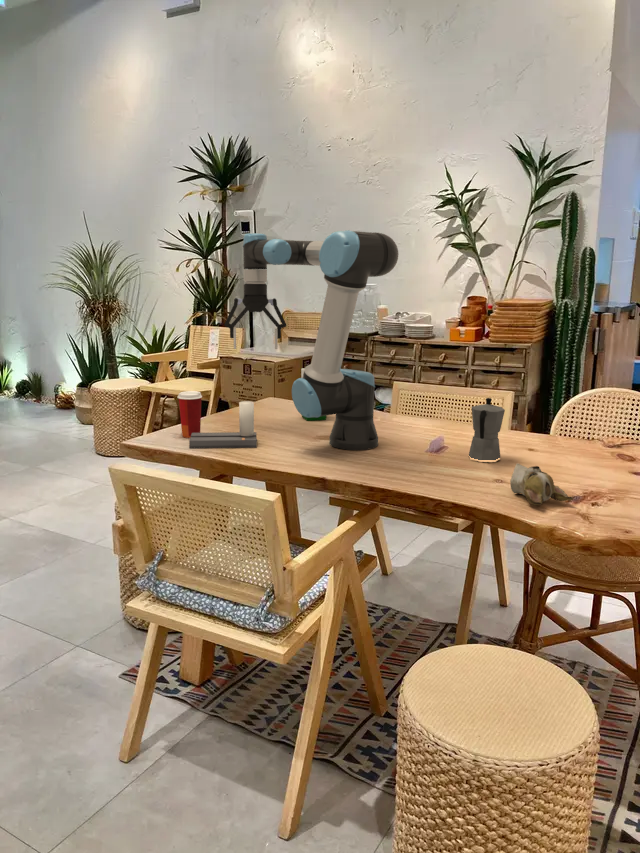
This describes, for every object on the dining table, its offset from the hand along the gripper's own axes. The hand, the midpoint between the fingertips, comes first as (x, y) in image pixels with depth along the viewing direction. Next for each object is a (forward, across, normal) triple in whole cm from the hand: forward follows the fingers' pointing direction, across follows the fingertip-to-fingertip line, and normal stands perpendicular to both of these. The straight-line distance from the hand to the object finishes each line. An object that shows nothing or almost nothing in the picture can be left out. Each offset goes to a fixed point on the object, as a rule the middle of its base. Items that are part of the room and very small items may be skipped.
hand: (255, 348), depth 224 cm
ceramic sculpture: (+27, -66, +77) cm, 105 cm away
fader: (+27, +3, +22) cm, 35 cm away
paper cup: (+27, +21, +12) cm, 36 cm away
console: (+27, +10, +22) cm, 36 cm away
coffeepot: (+27, -65, +43) cm, 82 cm away
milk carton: (+27, -21, -13) cm, 36 cm away
